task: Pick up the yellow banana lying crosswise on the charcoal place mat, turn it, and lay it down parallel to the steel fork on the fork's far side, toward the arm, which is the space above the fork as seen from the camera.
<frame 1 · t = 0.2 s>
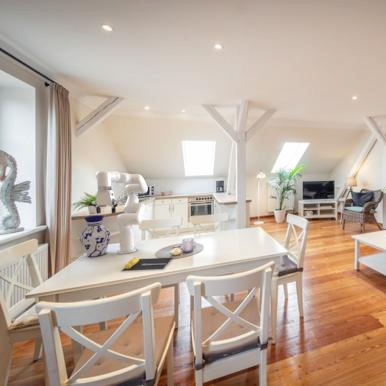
hand: (106, 213, 155), 36 cm above the table, tool pointing down, fingers open, 9 cm apart
vase: (97, 254, 176), on the table
fork: (155, 264, 156), resting on place mat
banana: (132, 265, 154), resting on place mat
place mat: (148, 264, 157), on the table
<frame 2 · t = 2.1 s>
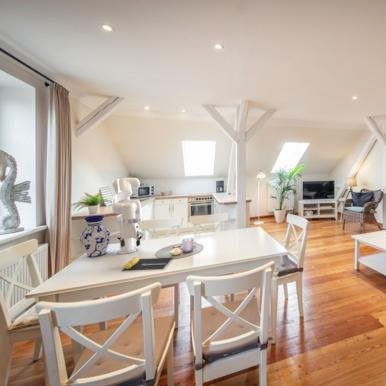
hand: (130, 246, 153), 14 cm above the table, tool pointing down, fingers open, 9 cm apart
nothing on the table moved.
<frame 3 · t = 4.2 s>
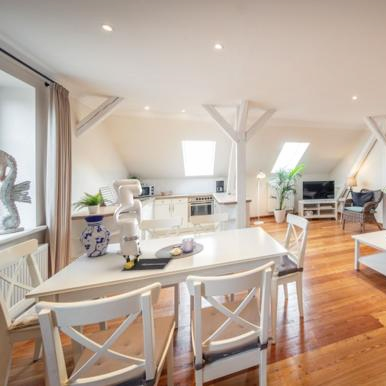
hand: (132, 263, 154), 2 cm above the table, tool pointing down, fingers closed on banana, 4 cm apart
banana: (132, 265, 154), resting on place mat, touching gripper
everything else where it was.
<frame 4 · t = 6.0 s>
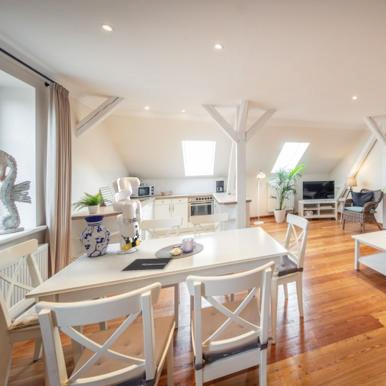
hand: (131, 246, 153), 14 cm above the table, tool pointing down, fingers closed on banana, 4 cm apart
banana: (131, 248, 153), point 13 cm above the table, touching gripper
everything else where it was.
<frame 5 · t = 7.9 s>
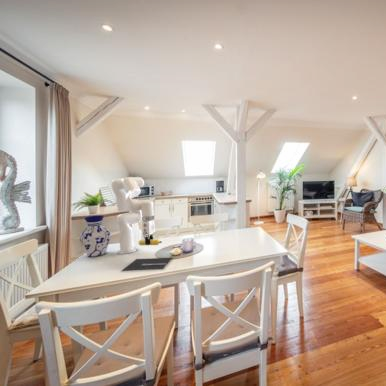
hand: (149, 243, 159), 14 cm above the table, tool pointing down, fingers closed on banana, 4 cm apart
banana: (149, 245, 159), point 13 cm above the table, touching gripper
everything else where it was.
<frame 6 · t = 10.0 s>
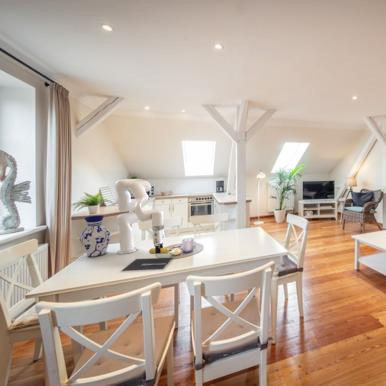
hand: (159, 251, 163), 7 cm above the table, tool pointing down, fingers closed on banana, 4 cm apart
banana: (159, 253, 163), point 6 cm above the table, touching gripper
everything else where it was.
when the fingers open (2 cm above the table, at t = 11.6 s): banana stays where it is, resting on place mat.
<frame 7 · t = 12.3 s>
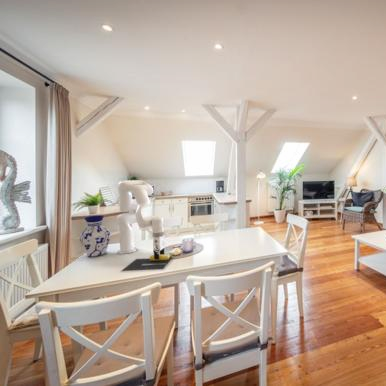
hand: (159, 256, 164), 3 cm above the table, tool pointing down, fingers open, 9 cm apart
banana: (159, 260, 164), resting on place mat, tilted 8°
everything else where it was.
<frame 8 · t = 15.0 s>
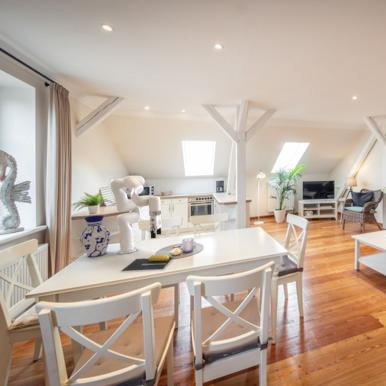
hand: (156, 236, 163), 18 cm above the table, tool pointing down, fingers open, 9 cm apart
banana: (159, 259, 164), point 1 cm above the table, tilted 37°, touching place mat
everything else where it was.
at the end: banana inside the target area on the table beside the fork (0.1 cm from its centre), resting on place mat; banana touching place mat; the gripper is holding nothing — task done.
